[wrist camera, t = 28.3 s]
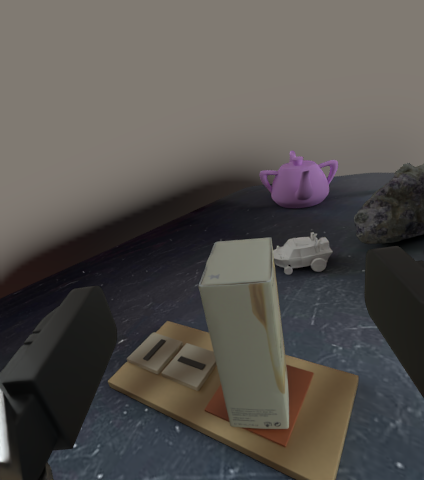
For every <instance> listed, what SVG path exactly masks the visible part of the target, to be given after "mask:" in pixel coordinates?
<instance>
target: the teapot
mask: <svg viewBox="0 0 424 480" xmlns="http://www.w3.org/2000/svg"><path fill="white" fill-rule="evenodd" d="M325 166H330V173H329V176H328V178H326V176H325V175H324V173H323V171H322V170H321V169H320V168H322V167H325ZM337 168H338V162H337V161H336V160H330V161H326V162H324V163H321V164H319V165H317V164H316V163H315V162H314V161H309V160H303V157H301V156H298V157H296V155H295V152H294V151H291V152H290V162H289V163H286V164H284V165H282V166H281V167H280V168H279V170H278V171H272V170H264V171H261V173H260V179H261V181H262V183H263V184H264V185H265V187H266V188H267V189H268V190H269V191H270V192H271V197H272V199H273V200H274V201H275V202H276V203H277V204H278V205H279V206H281V207H285V208H305V207H310V206H314V205H317V204H319V203H321V202H322V201H323V200H324V199H325V198H326V196H327V195H328V193H329V183H330V182H331V180H332V179H333V177H334V175H335V173H336V171H337ZM267 175H276V176H275V179H274V181H273V184H272V188H271V186H270V184H269V182H268V180H267Z"/></svg>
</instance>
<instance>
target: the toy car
mask: <svg viewBox="0 0 424 480" xmlns="http://www.w3.org/2000/svg"><path fill="white" fill-rule="evenodd" d="M313 234H314V232H312V233H311V239H310V238H309V237H300V238H293V239H288V241H287V242H286V243H285V245H284V246H283V247H279V246H277V249H275V250H274V251H273V256H274V261H275V263H276V265H278V266H280V267H284V272H285V274H288V275H289V274H291V273H292V272H293V269H292V268H300V267H306V266H310V265H311V268H312V270H314V271H316V272H320V271H323V270H324V269H325V268H326V265H327V264H326V262H328V261H327V260H328V258H329V257H330V255H331V254H332V253H333V252H332V250H331V249H330V247H329V241H328V240H327V239H326V237H324V238H320V239H319V240H317V239H318V238H316V235H317V234H315V235H313ZM313 236H314V241H313ZM286 265H287V267H286ZM288 265H291V267H290V266H288Z"/></svg>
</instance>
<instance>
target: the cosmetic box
mask: <svg viewBox="0 0 424 480" xmlns="http://www.w3.org/2000/svg"><path fill="white" fill-rule="evenodd" d="M199 290H200V294H201V299H202V303H203V307H204V312H205V316H206V321H207V325H208V329H209V334H210V338H211V343H212V347H213V351H214V355H215V360H216V364H217V369H218V373H219V377H220V382H221V386H222V390H223V395H224V399H225V404H226V408H227V413H228V417H229V421H230V425H231V426H232V427H244V428H259V429H288V428H289V392H288V379H287V368H286V359H285V349H284V341H283V334H282V325H281V316H280V308H279V300H278V291H277V282H276V274H275V265H274V256H273V247H272V239H271V238H259V239H247V240H234V241H221V242H216V243H215V244H214V246H213V249H212V251H211V254H210V256H209V259H208V261H207V264H206V267H205V270H204V273H203V276H202V278H201V281H200V283H199Z"/></svg>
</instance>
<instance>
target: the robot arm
mask: <svg viewBox="0 0 424 480" xmlns="http://www.w3.org/2000/svg"><path fill="white" fill-rule="evenodd" d="M365 303H366V307H367V310H368V313H369V315H370V317H371V318H372V320H373V321H374V323H375V324H376V326H377V327H378V329H379V331H380V332H381V334H382V335H383V337H384V338H385V340H386V341H387V343H388V344H389V346H390V347H391V349H392V350H393V352H394V353H395V355H396V356H397V358H398V360H399V361H400V363H401V364H402V366H403V367H404V369H405V370H406V372H407V373H408V375H409V376H410V378H411V379H412V381H413V382H414V384H415V386H416V387H417V389H418V390H419V392H420V393H421V395H422V396H423V398H424V261H422V260H421V261H415V260H414V259H413V258H412V257H411V256H409V255H408V254H407V253H406V252H405V251H404V250H403V249H402V248H400V247H399V246H393V247H385V248H378V249H370V250H368V252H367V254H366V269H365ZM116 341H117V328H116V325H115V322H114V319H113V316H112V314H111V311H110V308H109V306H108V303H107V300H106V298H105V295H104V293H103V291H102V289H101V288H100V287H99V286H92V287H85V288H77V289H73V290H72V291H71V292H70V293H69V294H68V296H67V297H66V298H65V300H64V301H63V302H62V304H61V305H60V306H59V307H57V308H56V309H55V310H53V311H52V312H51V313H50V314H48V315H47V316H46V317H45V318H43V319H42V321H41V322H40V323H39V324H38V326H37V327H36V328H35V329H34V331H33V334H31V335H30V336H29V337H28V338H27V340H26V341H25V342H24V345H22V346H21V347H20V349H19V350H18V351H17V352H16V354H15V355H14V356H13V358H12V359H11V360H10V361H9V363H8V364H7V365H6V366H5V368H4V369H3V370H2V372H1V373H0V480H54V479H53V475H52V470H51V467H50V465H49V464H48V462H47V461H48V459H49V457H50V455H51V453H52V450H63V449H72V448H73V446H74V443H75V441H76V439H77V436H78V434H79V431H80V429H81V427H82V424H83V422H84V420H85V417H86V415H87V412H88V410H89V408H90V405H91V403H92V400H93V398H94V396H95V393H96V391H97V388H98V386H99V384H100V381H101V379H102V376H103V374H104V372H105V369H106V367H107V365H108V362H109V360H110V357H111V355H112V353H113V350H114V348H115V345H116Z"/></svg>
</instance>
